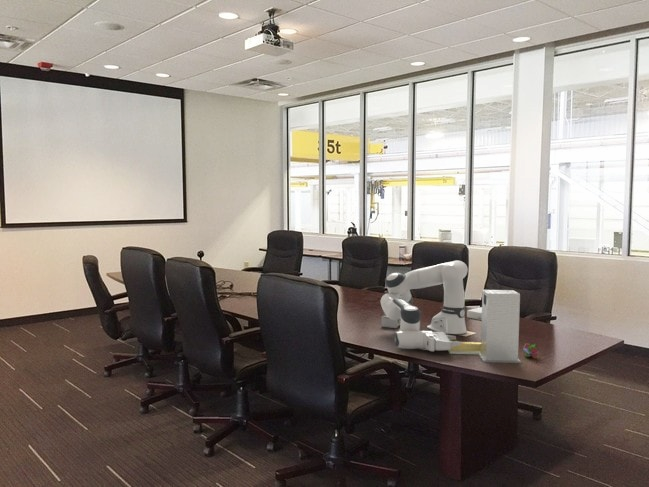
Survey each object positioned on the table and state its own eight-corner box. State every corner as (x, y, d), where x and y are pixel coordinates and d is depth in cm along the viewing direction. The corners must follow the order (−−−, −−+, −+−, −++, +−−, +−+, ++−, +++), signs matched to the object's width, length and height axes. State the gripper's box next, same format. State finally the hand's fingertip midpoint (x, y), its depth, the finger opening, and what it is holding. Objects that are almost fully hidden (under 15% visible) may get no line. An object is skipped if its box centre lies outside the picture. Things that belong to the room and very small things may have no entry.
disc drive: (511, 317, 328) (511, 309, 328) (492, 322, 313) (492, 314, 313) (486, 312, 341) (486, 305, 341) (466, 317, 326) (466, 310, 326)
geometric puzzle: (545, 354, 239) (536, 338, 243) (535, 356, 235) (526, 340, 239) (534, 360, 244) (526, 344, 248) (524, 362, 241) (516, 346, 244)
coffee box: (395, 328, 295) (405, 323, 309) (396, 317, 295) (406, 312, 309) (380, 326, 300) (391, 321, 314) (381, 315, 299) (391, 310, 313)
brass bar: (448, 350, 250) (448, 343, 249) (447, 348, 253) (447, 341, 253) (489, 351, 248) (489, 344, 247) (487, 349, 251) (488, 342, 251)
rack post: (484, 362, 234) (485, 293, 232) (478, 355, 245) (480, 289, 243) (520, 362, 233) (522, 294, 231) (513, 355, 244) (515, 290, 242)
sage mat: (449, 353, 247) (449, 352, 247) (446, 348, 256) (446, 346, 256) (497, 354, 246) (497, 353, 246) (492, 349, 255) (492, 347, 254)
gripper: (425, 340, 262) (453, 341, 261) (431, 352, 242) (461, 353, 241) (425, 328, 262) (453, 328, 261) (431, 339, 241) (461, 339, 240)
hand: (457, 340), depth 251 cm, fingers open, 8 cm apart
